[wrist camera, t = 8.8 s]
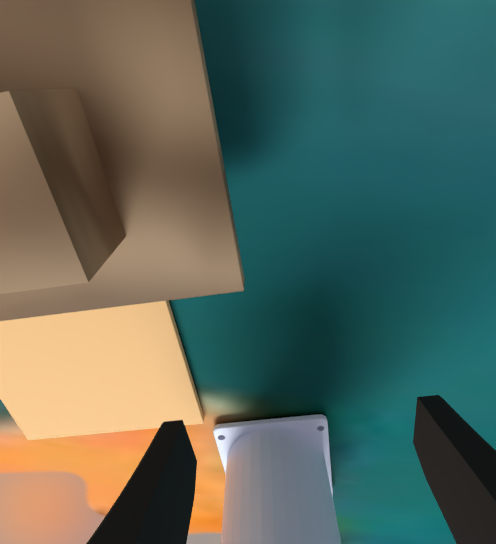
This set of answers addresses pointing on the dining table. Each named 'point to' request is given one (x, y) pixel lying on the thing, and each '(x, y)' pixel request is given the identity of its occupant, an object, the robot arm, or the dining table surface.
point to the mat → (96, 372)
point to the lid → (109, 159)
